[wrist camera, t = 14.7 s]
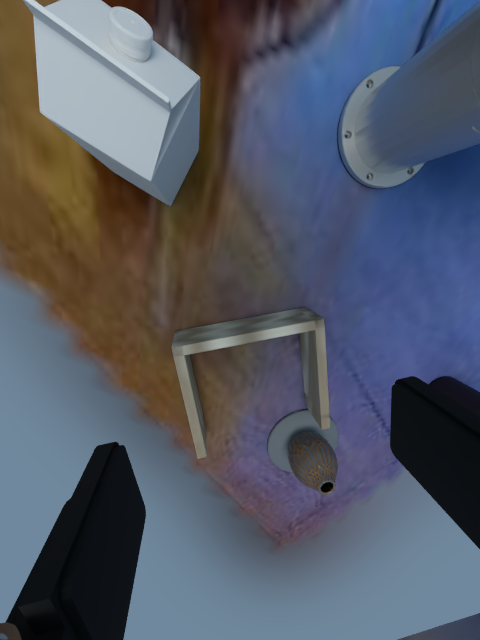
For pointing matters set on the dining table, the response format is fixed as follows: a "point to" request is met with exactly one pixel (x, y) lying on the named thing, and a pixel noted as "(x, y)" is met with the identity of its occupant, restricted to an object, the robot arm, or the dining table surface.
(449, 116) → the robot arm
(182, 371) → the holder
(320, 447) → the vase
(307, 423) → the mat
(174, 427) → the dining table surface
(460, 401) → the bottle
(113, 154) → the milk carton
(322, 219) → the dining table surface
